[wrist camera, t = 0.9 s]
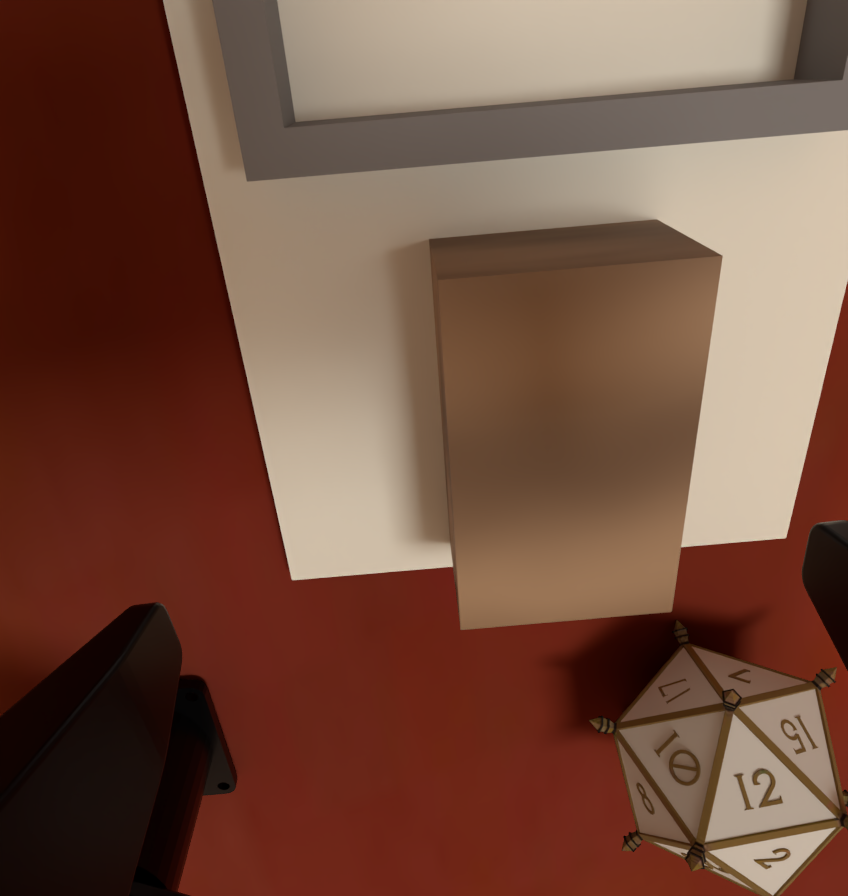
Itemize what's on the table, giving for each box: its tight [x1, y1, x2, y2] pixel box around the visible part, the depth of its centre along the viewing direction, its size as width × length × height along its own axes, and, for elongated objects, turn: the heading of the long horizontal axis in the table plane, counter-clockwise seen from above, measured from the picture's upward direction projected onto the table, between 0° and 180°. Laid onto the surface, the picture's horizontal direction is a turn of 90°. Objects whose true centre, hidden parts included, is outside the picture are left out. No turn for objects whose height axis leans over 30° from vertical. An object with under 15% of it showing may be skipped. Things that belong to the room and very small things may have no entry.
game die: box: [589, 620, 848, 896], centre depth 23 cm, size 9×8×10 cm
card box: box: [429, 219, 723, 630], centre depth 18 cm, size 10×6×4 cm, turn 4°
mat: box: [163, 0, 848, 580], centre depth 17 cm, size 23×17×3 cm
